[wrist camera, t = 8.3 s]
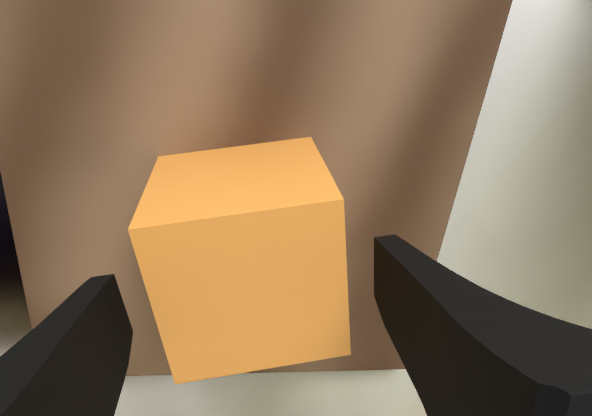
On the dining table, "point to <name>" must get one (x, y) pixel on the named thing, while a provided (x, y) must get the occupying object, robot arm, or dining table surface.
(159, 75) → the post board
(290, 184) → the orange wooden cube
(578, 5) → the dining table surface
